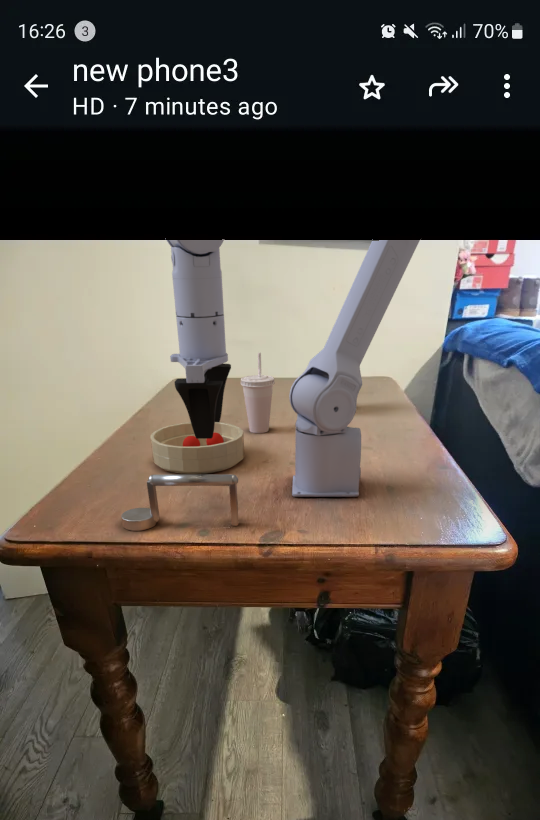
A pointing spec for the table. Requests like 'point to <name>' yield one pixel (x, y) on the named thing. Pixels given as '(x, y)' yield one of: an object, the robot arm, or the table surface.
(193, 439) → the tomato
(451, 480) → the table surface
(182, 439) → the bowl
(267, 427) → the smoothie
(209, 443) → the tomato
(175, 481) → the bent metal rod stand
